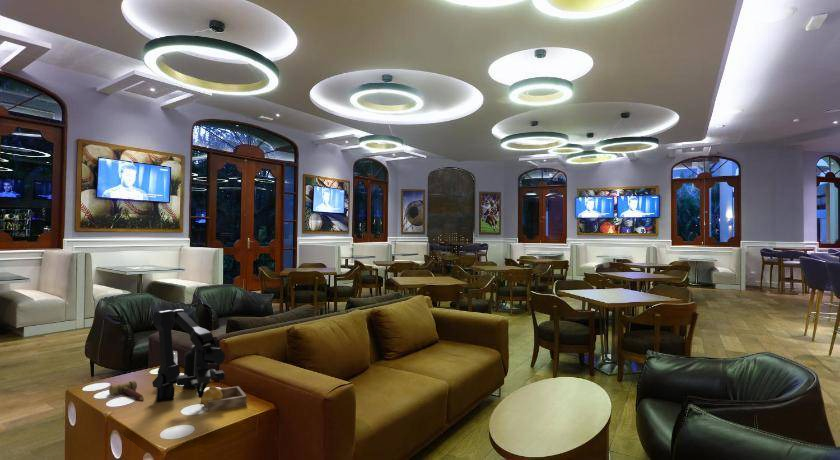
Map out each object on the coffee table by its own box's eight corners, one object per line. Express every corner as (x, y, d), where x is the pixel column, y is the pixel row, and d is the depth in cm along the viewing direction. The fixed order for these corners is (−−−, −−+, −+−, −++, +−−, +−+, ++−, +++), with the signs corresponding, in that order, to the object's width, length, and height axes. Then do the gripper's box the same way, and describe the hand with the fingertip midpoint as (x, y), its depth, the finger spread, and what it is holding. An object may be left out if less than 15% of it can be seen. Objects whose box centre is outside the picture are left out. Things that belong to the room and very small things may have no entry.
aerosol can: (205, 386, 220) (206, 345, 221) (188, 390, 213) (190, 348, 214) (195, 382, 225) (197, 342, 225) (179, 387, 218) (181, 345, 218)
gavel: (155, 391, 203) (131, 397, 194) (154, 401, 203) (130, 408, 194) (132, 379, 214) (109, 384, 206) (132, 388, 214) (108, 394, 206)
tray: (207, 412, 188) (207, 402, 188) (201, 400, 201) (201, 391, 201) (246, 405, 197) (246, 396, 198) (238, 394, 210) (238, 386, 210)
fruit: (209, 394, 202) (206, 382, 198) (227, 397, 202) (224, 384, 198) (200, 409, 195) (197, 397, 191) (218, 412, 195) (215, 400, 191)
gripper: (180, 368, 182) (178, 407, 182) (228, 363, 193) (227, 399, 193) (176, 362, 191) (174, 399, 191) (223, 357, 202) (221, 392, 202)
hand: (200, 397), depth 194 cm, fingers closed
